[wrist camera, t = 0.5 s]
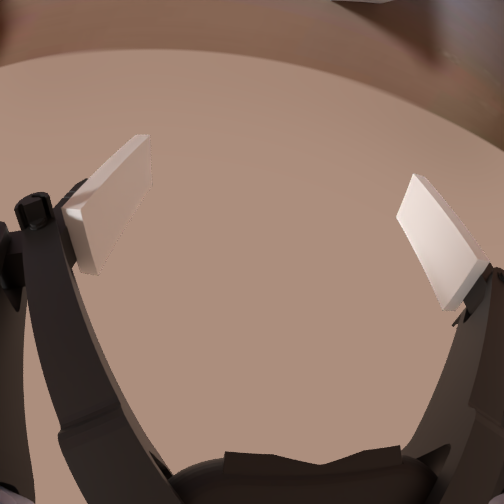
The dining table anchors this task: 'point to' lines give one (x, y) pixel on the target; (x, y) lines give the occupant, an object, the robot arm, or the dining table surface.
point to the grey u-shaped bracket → (370, 0)
